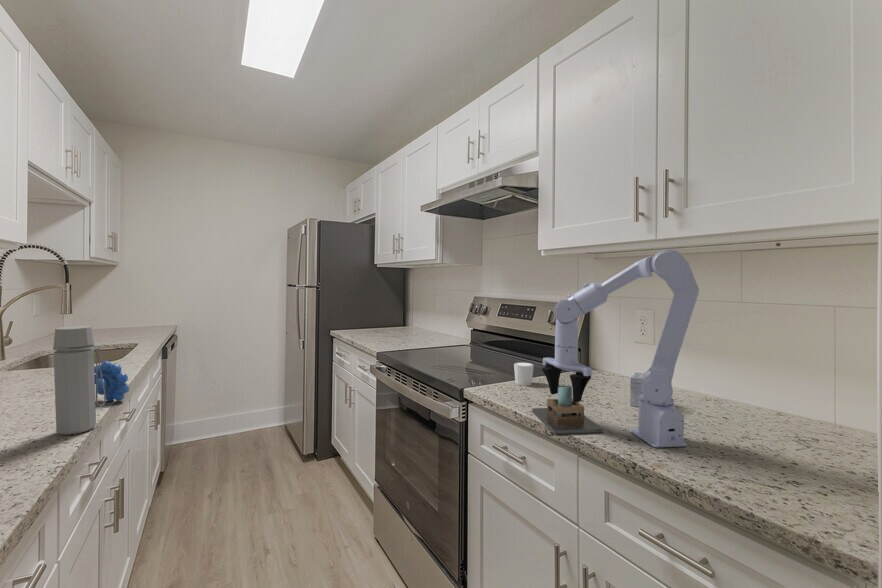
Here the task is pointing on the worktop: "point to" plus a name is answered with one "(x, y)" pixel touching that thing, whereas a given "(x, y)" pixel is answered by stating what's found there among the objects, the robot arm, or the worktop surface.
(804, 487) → the worktop surface
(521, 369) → the white cup
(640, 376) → the medicine box
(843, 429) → the worktop surface
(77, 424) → the water bottle
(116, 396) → the grapes
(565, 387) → the teal cylinder
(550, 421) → the wooden crate on slab
